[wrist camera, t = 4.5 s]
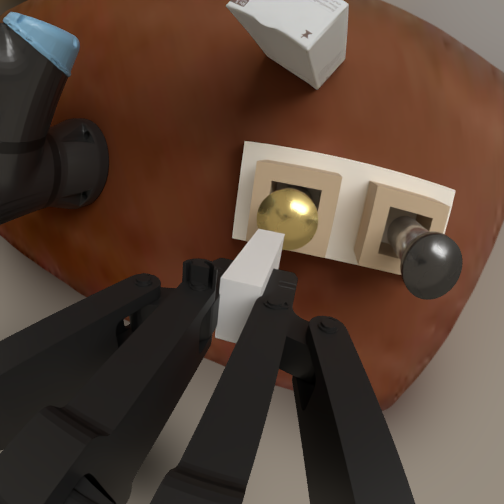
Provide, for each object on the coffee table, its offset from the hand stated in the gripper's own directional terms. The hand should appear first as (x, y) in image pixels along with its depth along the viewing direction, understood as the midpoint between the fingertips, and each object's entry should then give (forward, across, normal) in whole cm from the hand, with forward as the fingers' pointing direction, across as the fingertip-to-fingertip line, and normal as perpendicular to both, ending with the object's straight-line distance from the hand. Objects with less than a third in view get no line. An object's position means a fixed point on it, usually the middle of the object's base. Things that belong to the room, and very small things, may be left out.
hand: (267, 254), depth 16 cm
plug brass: (+18, 0, 0) cm, 18 cm away
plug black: (+14, +12, 0) cm, 18 cm away
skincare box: (+20, -2, +18) cm, 27 cm away
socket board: (+20, +6, 0) cm, 21 cm away
